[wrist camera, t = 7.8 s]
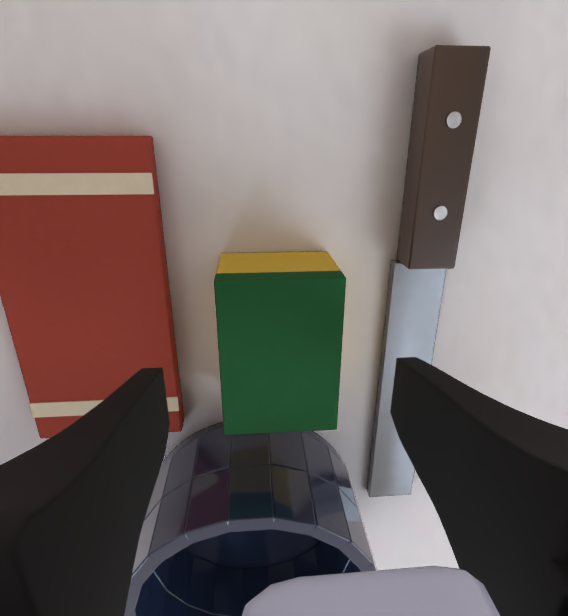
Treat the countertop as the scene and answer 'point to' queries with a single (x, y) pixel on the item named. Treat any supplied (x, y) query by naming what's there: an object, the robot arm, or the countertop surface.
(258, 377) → the sponge
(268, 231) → the countertop surface
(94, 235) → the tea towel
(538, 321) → the countertop surface
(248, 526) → the pot
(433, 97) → the knife
